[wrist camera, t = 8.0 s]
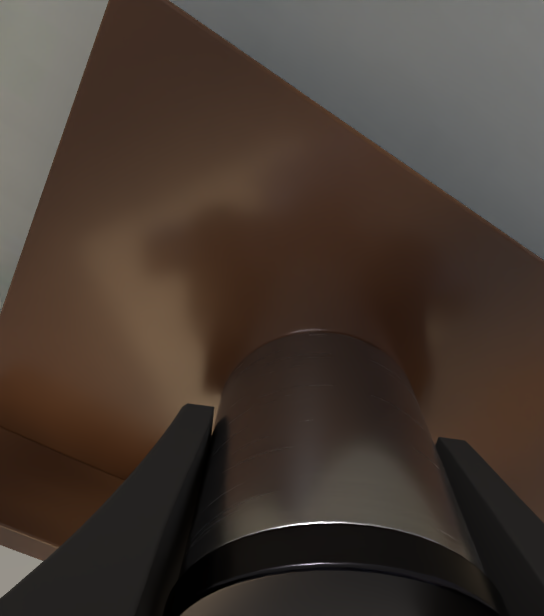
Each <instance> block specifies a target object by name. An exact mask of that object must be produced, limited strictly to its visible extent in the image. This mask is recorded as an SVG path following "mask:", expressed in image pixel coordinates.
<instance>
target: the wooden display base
mask: <svg viewBox="0 0 544 616" xmlns="http://www.w3.org/2000/svg"><path fill="white" fill-rule="evenodd" d="M306 332H329V333H338V334H343V335H348V336H351V337H354V338H357V339H360V340H363V341H365V342H367V343H369V344H372V345H374V346H375V347H377V348H378V349H380V350H382V351H383V352H385V353H386V354H387V355H388V356H390V357H391V358H392V359H393V360H394V361H395V362H396V363H397V364H398V365H399V366H400V367H401V369H402V370H403V371H404V373H405V375H406V376H407V378H408V379H409V382H410V384H411V386H412V389H413V391H414V394H415V396H416V399H417V401H418V404H419V407H420V409H421V412H422V414H423V417H424V419H425V422H426V424H427V427H428V429H429V432H430V434H431V437H432V439H433V442H434V445H435V444H436V442H437V440H438V437H444V438H451V439H459V440H465V441H466V442H467V443H468V444H469V445H470V446H471V447H472V448H473V449H474V450H475V451H476V452H477V453H478V454H479V455H480V456H481V457H482V458H483V459H484V460H485V461H486V462H487V463H488V464H489V466H490V467H491V468H492V469H493V470H494V471H495V472H496V473H497V474H498V475H499V476H500V477H501V478H502V479H503V480H504V482H505V483H506V484H507V485H508V486H509V487H510V488H511V489H512V490H513V491H514V492H515V493H516V494H517V495H518V497H519V498H520V499H521V500H522V501H523V502H524V503H525V504H526V505H527V506H528V507H529V508H530V509H531V510H532V511H533V512H534V513H535V514H536V515H537V516H538V517H539V519H540V520H541V521H542V522H543V523H544V260H543V259H541V258H540V257H538V256H537V255H535V254H534V253H533V252H531V251H530V250H528V249H527V248H525V247H524V246H522V245H521V244H520V243H518V242H517V241H515V240H514V239H512V238H511V237H509V236H508V235H507V234H505V233H504V232H502V231H501V230H499V229H498V228H496V227H495V226H494V225H492V224H491V223H489V222H488V221H486V220H485V219H483V218H482V217H481V216H479V215H478V214H476V213H475V212H473V211H472V210H471V209H469V208H468V207H466V206H465V205H463V204H462V203H460V202H459V201H458V200H456V199H455V198H453V197H452V196H450V195H449V194H447V193H446V192H445V191H443V190H442V189H440V188H439V187H437V186H436V185H434V184H433V183H432V182H430V181H429V180H427V179H426V178H424V177H423V176H421V175H420V174H419V173H417V172H416V171H414V170H413V169H411V168H410V167H408V166H407V165H406V164H404V163H403V162H401V161H400V160H398V159H397V158H395V157H394V156H393V155H391V154H390V153H388V152H387V151H385V150H384V149H382V148H381V147H380V146H378V145H377V144H375V143H374V142H372V141H371V140H369V139H368V138H367V137H365V136H364V135H362V134H361V133H359V132H358V131H356V130H355V129H354V128H352V127H351V126H349V125H348V124H346V123H345V122H343V121H342V120H341V119H339V118H338V117H336V116H335V115H333V114H332V113H330V112H329V111H328V110H326V109H325V108H323V107H322V106H320V105H319V104H317V103H316V102H315V101H313V100H312V99H310V98H309V97H307V96H306V95H305V94H303V93H302V92H300V91H299V90H297V89H296V88H294V87H293V86H292V85H290V84H289V83H287V82H286V81H284V80H283V79H281V78H280V77H279V76H277V75H276V74H274V73H273V72H271V71H270V70H268V69H267V68H266V67H264V66H263V65H261V64H260V63H258V62H257V61H255V60H254V59H253V58H251V57H250V56H248V55H247V54H245V53H244V52H242V51H241V50H240V49H238V48H237V47H235V46H234V45H232V44H231V43H229V42H228V41H227V40H225V39H224V38H222V37H221V36H219V35H218V34H216V33H215V32H214V31H212V30H211V29H209V28H208V27H206V26H205V25H203V24H202V23H201V22H199V21H198V20H196V19H195V18H193V17H192V16H190V15H189V14H188V13H186V12H185V11H183V10H182V9H180V8H179V7H177V6H176V5H175V4H173V3H172V2H170V1H169V0H109V1H108V4H107V7H106V10H105V13H104V16H103V19H102V22H101V25H100V27H99V30H98V33H97V36H96V39H95V42H94V45H93V48H92V51H91V53H90V56H89V59H88V62H87V65H86V68H85V71H84V74H83V77H82V79H81V82H80V85H79V88H78V91H77V94H76V97H75V100H74V103H73V105H72V108H71V111H70V114H69V117H68V120H67V123H66V126H65V129H64V131H63V134H62V137H61V140H60V143H59V146H58V149H57V152H56V155H55V157H54V160H53V163H52V166H51V169H50V172H49V175H48V178H47V181H46V183H45V186H44V189H43V192H42V195H41V198H40V201H39V204H38V207H37V209H36V212H35V215H34V218H33V221H32V224H31V227H30V230H29V233H28V236H27V238H26V241H25V244H24V247H23V250H22V253H21V256H20V259H19V262H18V264H17V267H16V270H15V273H14V276H13V279H12V282H11V285H10V288H9V290H8V293H7V296H6V299H5V302H4V305H3V308H2V311H1V314H0V545H2V546H5V547H8V548H10V549H13V550H16V551H18V552H21V553H23V554H26V555H29V556H32V557H34V558H37V559H40V560H42V561H45V560H46V559H47V558H48V557H49V556H50V555H51V554H52V553H53V552H54V551H56V550H57V549H58V548H59V547H60V546H61V545H62V544H63V543H64V542H65V541H66V540H67V539H68V538H70V537H71V536H72V535H73V534H74V533H75V532H76V531H77V530H78V529H79V528H80V527H81V526H82V525H83V524H84V523H85V522H86V521H87V520H88V519H89V518H90V517H91V516H92V515H93V514H94V513H95V512H96V511H97V510H98V509H99V508H100V507H101V506H102V505H103V504H104V502H105V501H106V500H107V499H108V498H109V497H110V496H111V495H112V494H113V493H114V492H115V491H116V490H117V489H118V487H119V486H120V485H121V484H122V483H123V482H124V481H125V480H126V479H127V478H128V477H129V475H130V474H131V473H132V472H133V471H134V470H135V468H136V467H137V466H138V465H139V464H140V462H141V461H142V460H143V459H144V458H145V456H146V455H147V454H148V453H149V452H150V450H151V449H152V448H153V447H154V445H155V444H156V443H157V442H158V440H159V439H160V438H161V436H162V435H163V434H164V432H165V431H166V430H167V428H168V427H169V426H170V424H171V423H172V421H173V420H174V418H175V417H176V416H177V414H178V412H179V411H180V409H181V408H182V406H184V405H185V404H187V403H190V404H197V405H205V406H212V407H214V416H213V426H212V433H213V428H214V424H215V420H216V416H217V412H218V407H219V403H220V399H221V395H222V391H223V389H224V386H225V383H226V381H227V380H228V378H229V376H230V374H231V373H232V372H233V370H234V369H235V368H236V366H237V365H238V364H239V363H240V362H241V361H242V360H243V359H244V358H245V357H246V356H248V355H249V354H251V353H252V352H253V351H255V350H256V349H258V348H259V347H261V346H263V345H265V344H267V343H269V342H271V341H274V340H276V339H279V338H282V337H286V336H289V335H293V334H300V333H306Z"/></svg>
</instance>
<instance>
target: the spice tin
mask: <svg viewBox="0 0 544 616" xmlns="http://www.w3.org/2000/svg"><path fill="white" fill-rule="evenodd" d="M162 616H510V614H509V612H508V610H507V607H506V605H505V602H504V600H503V598H502V595H501V594H500V592H499V591H498V589H497V588H496V586H495V585H494V584H493V582H492V581H491V580H490V579H489V578H488V577H487V576H486V574H485V571H484V569H483V566H482V564H481V561H480V559H479V556H478V553H477V551H476V548H475V546H474V543H473V541H472V538H471V536H470V533H469V531H468V528H467V526H466V523H465V521H464V518H463V515H462V513H461V510H460V508H459V505H458V503H457V500H456V498H455V495H454V493H453V490H452V488H451V485H450V483H449V480H448V477H447V475H446V472H445V470H444V467H443V465H442V462H441V460H440V457H439V455H438V452H437V450H436V447H435V445H434V442H433V439H432V437H431V434H430V432H429V429H428V427H427V424H426V422H425V419H424V417H423V414H422V412H421V409H420V407H419V404H418V401H417V399H416V396H415V394H414V391H413V389H412V386H411V384H410V382H409V379H408V378H407V376H406V375H405V373H404V371H403V370H402V369H401V367H400V366H399V365H398V364H397V363H396V362H395V361H394V360H393V359H392V358H391V357H390V356H388V355H387V354H386V353H385V352H383V351H382V350H380V349H378V348H377V347H375V346H374V345H372V344H369V343H367V342H365V341H363V340H360V339H357V338H354V337H351V336H348V335H343V334H338V333H329V332H306V333H300V334H293V335H289V336H286V337H282V338H279V339H276V340H274V341H271V342H269V343H267V344H265V345H263V346H261V347H259V348H258V349H256V350H255V351H253V352H252V353H251V354H249V355H248V356H246V357H245V358H244V359H243V360H242V361H241V362H240V363H239V364H238V365H237V366H236V368H235V369H234V370H233V372H232V373H231V374H230V376H229V378H228V380H227V381H226V383H225V386H224V389H223V391H222V395H221V399H220V403H219V407H218V412H217V416H216V420H215V424H214V428H213V433H212V437H211V441H210V445H209V450H208V454H207V458H206V462H205V467H204V471H203V475H202V479H201V484H200V488H199V492H198V496H197V501H196V505H195V509H194V513H193V518H192V522H191V526H190V530H189V535H188V539H187V543H186V547H185V552H184V556H183V560H182V564H181V569H180V573H179V577H178V581H177V582H176V584H175V585H174V587H173V588H172V589H171V591H170V593H169V596H168V598H167V601H166V603H165V607H164V611H163V615H162Z"/></svg>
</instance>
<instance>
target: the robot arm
mask: <svg viewBox="0 0 544 616" xmlns="http://www.w3.org/2000/svg"><path fill="white" fill-rule="evenodd" d="M213 416H214V407H212V406H205V405H197V404H190V403H187V404H185V405H184V406H182V408H181V409H180V411H179V412H178V414H177V416H176V417H175V418H174V420H173V421H172V423H171V424H170V426H169V427H168V428H167V430H166V431H165V432H164V434H163V435H162V436H161V438H160V439H159V440H158V442H157V443H156V444H155V445H154V447H153V448H152V449H151V450H150V452H149V453H148V454H147V455H146V456H145V458H144V459H143V460H142V461H141V462H140V464H139V465H138V466H137V467H136V468H135V470H134V471H133V472H132V473H131V474H130V475H129V477H128V478H127V479H126V480H125V481H124V482H123V483H122V484H121V485H120V486H119V487H118V489H117V490H116V491H115V492H114V493H113V494H112V495H111V496H110V497H109V498H108V499H107V500H106V501H105V502H104V504H103V505H102V506H101V507H100V508H99V509H98V510H97V511H96V512H95V513H94V514H93V515H92V516H91V517H90V518H89V519H88V520H87V521H86V522H85V523H84V524H83V525H82V526H81V527H80V528H79V529H78V530H77V531H76V532H75V533H74V534H73V535H72V536H71V537H70V538H68V539H67V540H66V541H65V542H64V543H63V544H62V545H61V546H60V547H59V548H58V549H57V550H56V551H54V552H53V553H52V554H51V555H50V556H49V557H48V558H47V559H46V560H45V561H43V562H42V563H41V564H40V565H39V566H38V567H37V568H35V569H34V570H33V571H32V572H31V573H30V574H28V575H27V576H26V577H25V578H24V579H23V580H21V581H20V582H19V583H18V584H17V585H16V586H15V587H13V588H12V589H11V590H10V591H9V592H8V593H6V594H5V595H4V596H3V597H1V598H0V616H162V615H163V611H164V607H165V603H166V601H167V598H168V596H169V593H170V591H171V589H172V588H173V587H174V585H175V584H176V582H177V581H178V577H179V573H180V569H181V564H182V560H183V556H184V552H185V547H186V543H187V539H188V535H189V530H190V526H191V522H192V518H193V513H194V509H195V505H196V501H197V496H198V492H199V488H200V484H201V479H202V475H203V471H204V467H205V462H206V458H207V454H208V450H209V445H210V441H211V437H212V426H213ZM435 447H436V450H437V452H438V455H439V457H440V460H441V462H442V465H443V467H444V470H445V472H446V475H447V477H448V480H449V483H450V485H451V488H452V490H453V493H454V495H455V498H456V500H457V503H458V505H459V508H460V510H461V513H462V515H463V518H464V521H465V523H466V526H467V528H468V531H469V533H470V536H471V538H472V541H473V543H474V546H475V548H476V551H477V553H478V556H479V559H480V561H481V564H482V566H483V569H484V571H485V574H486V576H487V577H488V578H489V579H490V580H491V581H492V582H493V584H494V585H495V586H496V588H497V589H498V591H499V592H500V594H501V595H502V598H503V600H504V602H505V605H506V607H507V610H508V612H509V614H510V616H544V523H543V522H542V521H541V520H540V519H539V517H538V516H537V515H536V514H535V513H534V512H533V511H532V510H531V509H530V508H529V507H528V506H527V505H526V504H525V503H524V502H523V501H522V500H521V499H520V498H519V497H518V495H517V494H516V493H515V492H514V491H513V490H512V489H511V488H510V487H509V486H508V485H507V484H506V483H505V482H504V480H503V479H502V478H501V477H500V476H499V475H498V474H497V473H496V472H495V471H494V470H493V469H492V468H491V467H490V466H489V464H488V463H487V462H486V461H485V460H484V459H483V458H482V457H481V456H480V455H479V454H478V453H477V452H476V451H475V450H474V449H473V448H472V447H471V446H470V445H469V444H468V443H467V442H466V441H465V440H459V439H451V438H444V437H438V440H437V442H436V444H435Z"/></svg>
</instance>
